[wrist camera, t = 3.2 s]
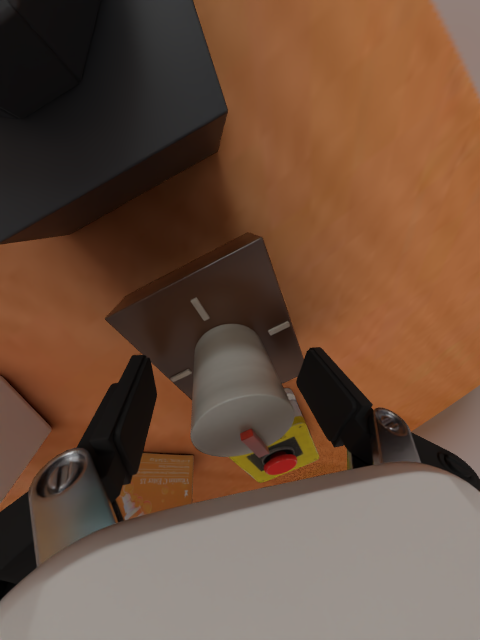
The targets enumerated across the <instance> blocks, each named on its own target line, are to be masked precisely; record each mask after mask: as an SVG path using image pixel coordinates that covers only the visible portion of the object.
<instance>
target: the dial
mask: <svg viewBox="0 0 480 640" xmlns="http://www.w3.org/2000/svg"><path fill="white" fill-rule="evenodd" d="M293 421H294V409H293V407H292V405H291V402H290V400H289V398H288V396H287V394H286V392H285V390H284V388H283V386H282V384H281V382H280V380H279V377H278V375H277V373H276V371H275V369H274V367H273V365H272V363H271V361H270V359H269V357H268V355H267V352H266V350H265V348H264V346H263V344H262V342H261V340H260V338H259V336H258V335H257V334H256V332H254V331H253V330H252V329H250V328H249V327H246V326H244V325H240V324H224V325H220V326H217V327H215V328H212V329H211V330H209V331H208V332H206V333H205V334H204V335H203V336H202V337H201V338H200V339H199V341H198V343H197V345H196V347H195V354H194V375H193V396H192V417H191V441H192V443H193V445H194V446H195V447H196V448H197V449H198V450H199V451H201V452H203V453H205V454H208V455H212V456H219V457H232V456H240V455H245V454H249V453H252V452H253V453H254V454H256V455H257V456H258V457H259V458H260V457H263V456H265V455H267V454H269V450H268V447H267V446H269V445H271V444H273V443H274V442H276V441H277V440H279V439H280V438H281V437H282V436H283V435H284V434H286V432H287V431H288V430H289V429H290V427H291V426H292V424H293Z"/></svg>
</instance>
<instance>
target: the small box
mask: <svg viewBox="0 0 480 640" xmlns="http://www.w3.org/2000/svg"><path fill="white" fill-rule="evenodd" d="M193 465H194V456H193V455H168V454H152V453H143V454H142V458H141V462H140V466H139V469H138V472H137V474H136V475H133V476H132V480H131V484H127V485H123V486H122V490H121V493H120V495H119V496H118V497H117V501H118V503H119V506H120V508H121V511H122V513H123V516H124V518H125V520H128V519H132V518H135V517H138V516H142V515H146V514H150V513H154V512H158V511H162V510H167V509H171V508H175V507H179V506H183V505H187V504H192V493H193Z"/></svg>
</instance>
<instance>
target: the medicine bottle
mask: <svg viewBox="0 0 480 640" xmlns="http://www.w3.org/2000/svg"><path fill="white" fill-rule="evenodd" d="M51 430H52V428H51V427H50V425H49V424H48V423H47V422H46V421H45V420H44V419H43V418H42V417H41V416H40V415H39V414H38V413H37V412H36V411H35V410H34V409H33V408H32V407H31V406H30V405H29V404H28V403H27V402H26V401H25V400H24V398H23V397H22V396H21V395H20V394H19V393H18V392H17V391H16V390H15V389H14V388H13V387H12V386H11V385H10V384H9V383H8V382H7V381H6V380H5V379H4V378H3V377H2V376H0V503H1V502H2V500H3V499H4V498H5V496H6V495H7V493H8V492H9V490H10V489H11V488H12V486H13V485H14V483H15V482H16V480H17V479H18V478H19V476H20V475H21V473H22V472H23V470H24V469H25V468H26V466H27V465H28V463H29V462H30V460H31V459H32V458H33V456H34V455H35V453H36V452H37V450H38V449H39V448H40V446H41V445H42V443H43V442H44V440H45V439H46V438H47V436H48V435H49V433H50V432H51Z"/></svg>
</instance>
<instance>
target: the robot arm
mask: <svg viewBox="0 0 480 640" xmlns="http://www.w3.org/2000/svg"><path fill="white" fill-rule="evenodd" d="M296 383H297V386H298V388H299V390H300V392H301V393H302V395H303V397H304V399H305V400H306V402H307V404H308V406H309V407H310V409H311V411H312V413H313V415H314V416H315V418H316V420H317V422H318V423H319V425H320V427H321V429H322V430H323V432H324V434H325V436H326V438H327V439H328V440H329V441H331V442H332V444H333V446H334V447H339V446H343V445H345V447H346V448H347V470H346V471H341V472H336V473H331V474H326V475H322V476H317V477H312V478H307V479H303V480H298V481H293V482H289V483H284V484H279V485H275V486H270V487H265V488H261V489H256V490H251V491H247V492H242V493H238V494H233V495H228V496H224V497H219V498H215V499H210V500H206V501H201V502H197V503H192V504H187V505H183V506H179V507H175V508H171V509H167V510H162V511H158V512H154V513H150V514H146V515H142V516H138V517H135V518H132V519H128V520H125V518H124V516H123V513H122V511H121V508H120V506H119V503H118V501H117V497H118V496H119V495H120V493H121V490H122V486H123V485H127V484H131V480H132V476H133V475H136V474H137V472H138V469H139V466H140V462H141V458H142V454H143V450H144V446H145V442H146V438H147V434H148V430H149V426H150V422H151V418H152V414H153V410H154V406H155V402H156V397H157V391H156V386H155V381H154V376H153V371H152V366H151V361H150V358H146V355H133V356H132V357H131V359H130V361H129V363H128V365H127V367H126V369H125V371H124V373H123V375H122V377H121V379H120V381H119V383H114V384H112V385H111V386H110V387H109V389H108V391H107V393H106V395H105V396H104V398H103V400H102V402H101V404H100V406H99V407H98V409H97V411H96V413H95V415H94V417H93V419H92V420H91V422H90V424H89V426H88V428H87V430H86V431H85V433H84V435H83V437H82V439H81V441H80V442H79V444H78V446H77V448H73V449H70V450H66V451H65V452H63V453H61V454H59V455H57V456H56V457H54V458H53V459H51V460H50V461H49V462H48V463H47V464H46V465H45V466H43V467H42V468H41V469H40V471H39V472H38V473H37V475H36V476H35V477H34V479H33V481H32V483H31V485H30V487H29V491H28V492H27V493H25V494H24V495H23V496H21V497H20V498H19V499H17V500H16V501H15V502H13V503H12V504H11V505H9V506H8V507H6V508H5V509H4V510H2V511H1V512H0V640H480V479H479V477H478V476H477V474H476V473H475V472H474V470H473V469H472V468H471V467H470V466H469V465H468V464H467V463H466V462H464V461H463V460H462V459H461V458H459V457H458V456H456V455H455V454H453V453H451V452H449V451H447V450H445V449H443V448H441V447H440V446H438V445H435V444H434V443H431V442H430V441H427V440H426V439H424V438H422V437H420V436H418V435H415V434H414V433H412V432H410V429H409V427H408V425H407V424H406V423H405V421H404V420H403V419H402V418H400V417H399V416H398V415H397V414H395V413H394V412H392V411H390V410H388V409H385V408H375V409H374V410H373V409H372V408H371V407H372V405H373V404H372V403H371V402H370V401H369V400H368V399H367V398H366V397H365V396H364V394H363V393H362V392H361V391H360V390H359V389H358V388H357V387H356V386H355V385H354V383H353V382H352V381H351V380H350V379H349V378H348V377H347V376H346V375H345V374H344V372H343V371H342V370H341V369H340V368H339V367H338V366H337V365H336V364H335V363H334V362H333V360H332V359H331V358H330V357H329V356H328V355H327V354H326V353H325V352H324V351H323V349H322V348H320V347H316V348H310V349H309V350H308V351H307V353H306V355H305V358H304V361H303V364H302V366H301V369H300V372H299V375H298V378H297V381H296Z"/></svg>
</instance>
